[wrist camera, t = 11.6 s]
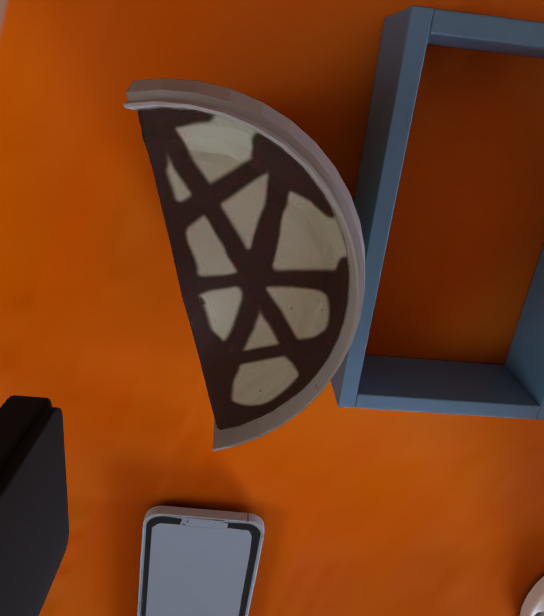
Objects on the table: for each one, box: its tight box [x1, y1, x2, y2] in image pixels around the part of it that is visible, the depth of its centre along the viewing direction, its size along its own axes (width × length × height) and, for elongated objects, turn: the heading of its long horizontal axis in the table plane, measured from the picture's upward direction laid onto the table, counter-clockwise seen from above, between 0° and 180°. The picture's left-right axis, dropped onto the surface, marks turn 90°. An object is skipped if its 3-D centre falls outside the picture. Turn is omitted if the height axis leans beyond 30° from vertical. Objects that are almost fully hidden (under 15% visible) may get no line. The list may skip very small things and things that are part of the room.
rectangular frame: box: [331, 5, 544, 420], centre depth 23 cm, size 11×17×4 cm, turn 174°
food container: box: [123, 78, 365, 451], centre depth 20 cm, size 12×6×10 cm, turn 9°
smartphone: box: [137, 506, 264, 616], centre depth 34 cm, size 7×1×15 cm
